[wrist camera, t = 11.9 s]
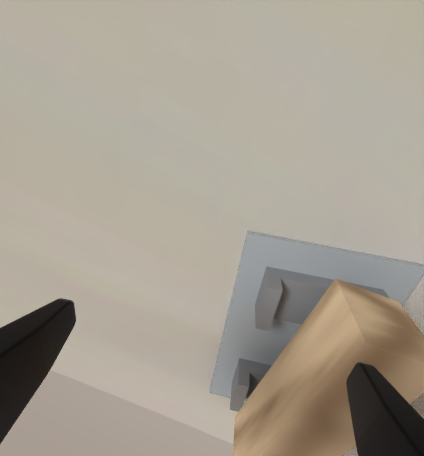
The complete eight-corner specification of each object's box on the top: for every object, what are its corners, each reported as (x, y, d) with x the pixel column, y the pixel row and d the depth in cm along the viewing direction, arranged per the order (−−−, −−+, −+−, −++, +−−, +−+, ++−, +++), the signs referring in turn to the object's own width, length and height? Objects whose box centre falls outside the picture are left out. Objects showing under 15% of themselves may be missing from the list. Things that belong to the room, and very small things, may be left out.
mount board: (424, 264, 19) (452, 292, 16) (328, 416, 28) (336, 449, 25) (247, 231, 20) (247, 251, 17) (210, 389, 29) (206, 419, 26)
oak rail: (398, 301, 17) (453, 376, 13) (278, 431, 25) (284, 504, 21) (335, 278, 17) (367, 345, 12) (235, 416, 25) (231, 487, 21)
